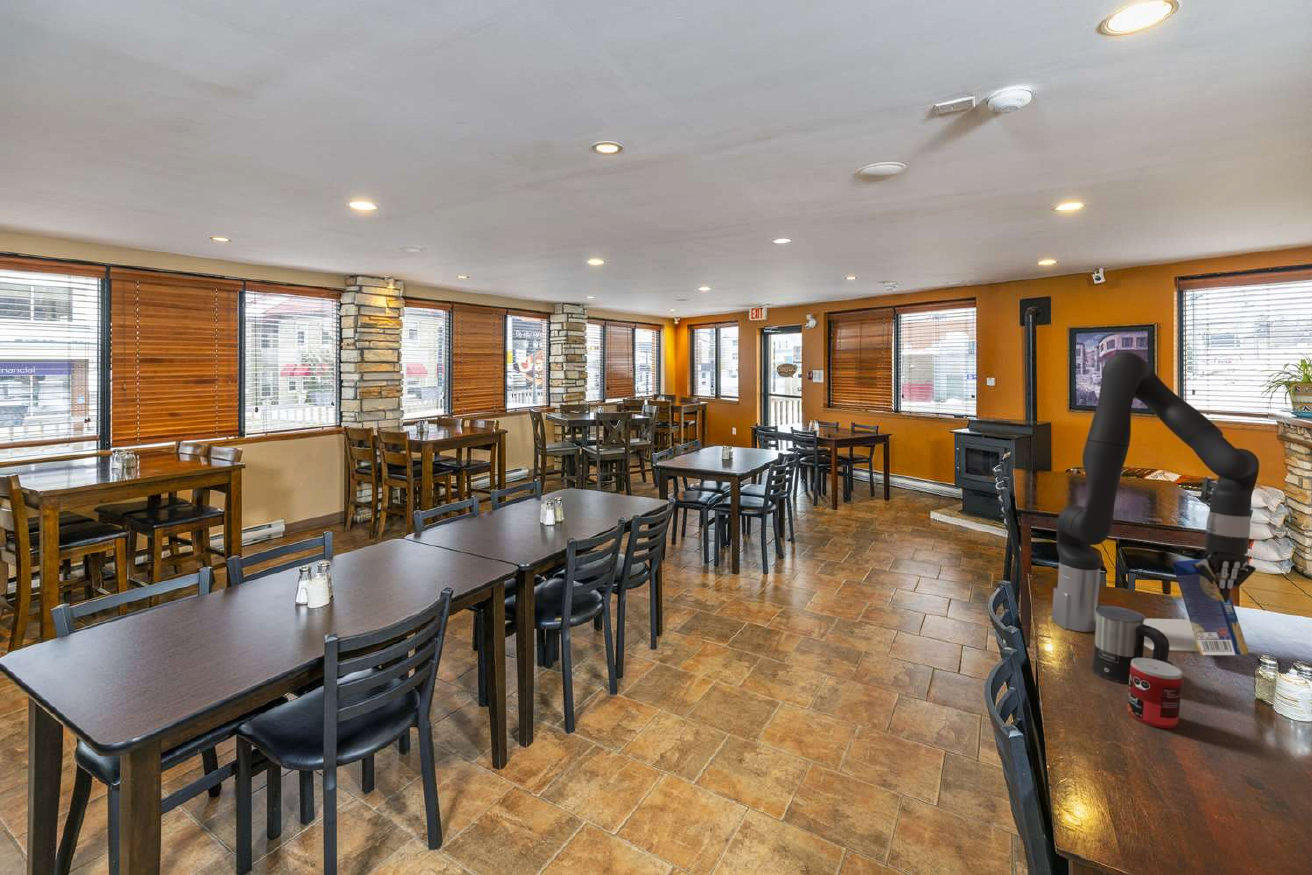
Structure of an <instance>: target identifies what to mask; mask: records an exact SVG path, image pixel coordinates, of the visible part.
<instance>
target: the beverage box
mask: <svg viewBox="0 0 1312 875" xmlns="http://www.w3.org/2000/svg"><path fill="white" fill-rule="evenodd" d="M1202 560H1203V558H1201V559H1198V558H1197V559H1190V560H1189V559H1188V560H1179V561H1171V563H1172V566H1173V569H1174V573H1175V576H1176V580H1177V583H1178V585H1179V586H1178V587H1179V590H1180V593H1181V596H1182V599H1183V603H1184V605H1185V610H1186V612H1187V616H1188V620H1190V623H1191V626H1192V629H1193V632H1194V636H1195V639H1196V642H1197V645H1198V649H1199V652H1198V653H1199V655H1200V656H1241V655H1245V654H1250V653H1249V651H1248V649H1249V648H1248V645H1247V643H1246V639H1245V637H1244V634H1243V630H1242V628H1241V625H1240V622H1239V618H1238V615H1237V613H1236V610H1235V606H1234V604H1233V601H1232V598H1231V594H1230V595H1229V600H1228V601H1227V603H1225V601H1224V599H1223V597H1222V595H1221V592H1220V589H1219V587H1218V585H1216V583H1215V581H1214V582H1213V585H1212V584H1211V583H1210V582H1209V581H1208V579H1207V578H1206V577H1203V576H1201V575H1200V574H1198V572H1197V571H1196V570H1195V568H1194V567H1193V565H1192V564H1193V563H1194V562H1197V563H1199V562H1200V561H1202ZM1208 567H1209V568H1210V565H1209V564H1208ZM1209 572H1210V573H1211V574H1212V576H1213V577H1214V578H1215V580H1216V581H1218V580H1217V578H1216V577H1215V576H1214V572H1213V571H1212V570H1211V568H1210V569H1209Z"/></svg>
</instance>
